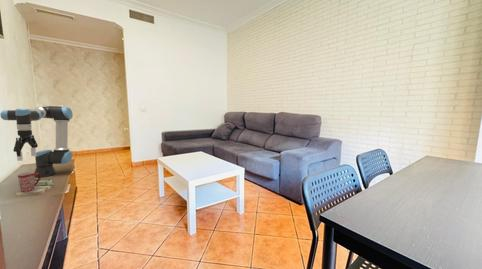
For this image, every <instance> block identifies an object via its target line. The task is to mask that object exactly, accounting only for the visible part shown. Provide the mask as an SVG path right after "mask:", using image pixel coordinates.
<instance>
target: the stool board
mask: <svg viewBox="0 0 482 269" xmlns="http://www.w3.org/2000/svg"><path fill="white" fill-rule="evenodd" d="M37 180H38V178H37V179H35V178H34V181H37ZM39 181H41V179H40V180H39ZM35 187H40V188H41V189H40V190H38V191H34V192H30V193H21V192H20V191H18V192H16V193H15V194H16V197H24V196H27V197H28V196H40V195H42V194H43V193H45V192H47V191H49V190H50V189H52V188H54V187H55V183H52V185H41V186H35Z"/></svg>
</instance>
